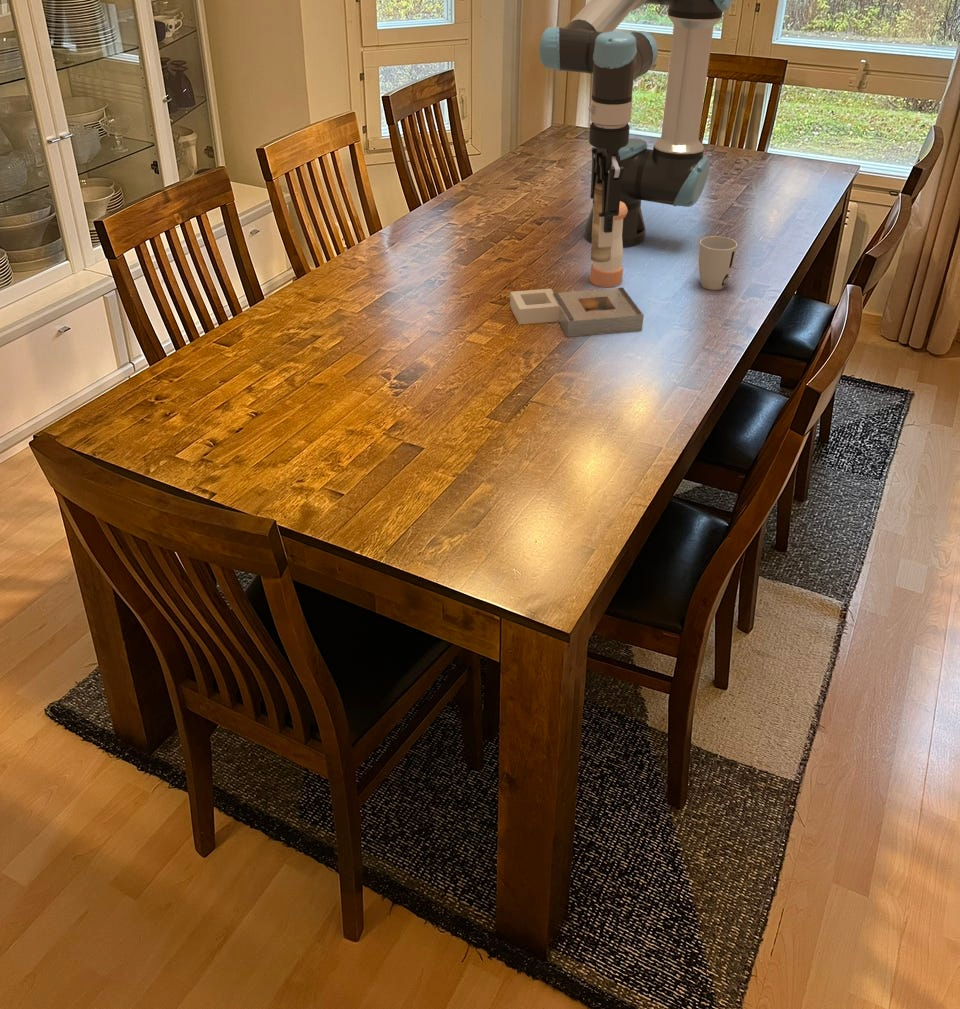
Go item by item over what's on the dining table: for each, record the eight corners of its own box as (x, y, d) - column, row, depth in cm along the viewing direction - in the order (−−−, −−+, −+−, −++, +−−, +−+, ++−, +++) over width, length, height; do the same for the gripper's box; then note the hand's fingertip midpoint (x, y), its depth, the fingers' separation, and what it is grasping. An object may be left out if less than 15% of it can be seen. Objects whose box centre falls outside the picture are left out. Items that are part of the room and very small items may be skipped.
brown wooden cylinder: (588, 255, 205) (592, 183, 196) (607, 253, 206) (612, 181, 197) (593, 263, 202) (598, 190, 193) (613, 261, 203) (618, 188, 194)
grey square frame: (550, 308, 216) (551, 292, 214) (621, 302, 218) (623, 286, 216) (567, 337, 205) (568, 320, 203) (642, 330, 207) (643, 313, 205)
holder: (510, 306, 217) (510, 291, 215) (550, 303, 218) (551, 288, 216) (519, 324, 210) (519, 309, 208) (560, 321, 211) (561, 305, 209)
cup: (730, 294, 222) (737, 251, 216) (693, 291, 223) (699, 248, 218) (730, 279, 228) (737, 237, 223) (694, 276, 230) (700, 234, 224)
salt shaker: (626, 277, 229) (633, 195, 218) (616, 289, 224) (623, 205, 213) (596, 272, 232) (602, 190, 221) (585, 284, 227) (590, 200, 215)
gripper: (578, 111, 194) (572, 228, 208) (603, 137, 181) (595, 259, 195) (615, 109, 195) (607, 225, 209) (643, 135, 182) (632, 256, 196)
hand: (601, 241), depth 202 cm, fingers closed on brown wooden cylinder, 4 cm apart
